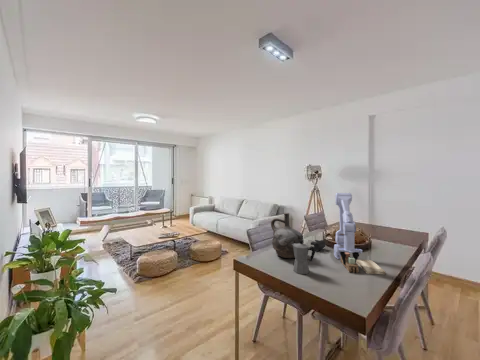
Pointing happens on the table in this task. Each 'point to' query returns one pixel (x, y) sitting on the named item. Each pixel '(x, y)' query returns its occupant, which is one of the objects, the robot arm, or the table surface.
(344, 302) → the table surface
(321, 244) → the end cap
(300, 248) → the coffeepot
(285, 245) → the vessel
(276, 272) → the table surface
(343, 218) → the robot arm
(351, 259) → the pale green cube
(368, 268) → the dock
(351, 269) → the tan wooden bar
